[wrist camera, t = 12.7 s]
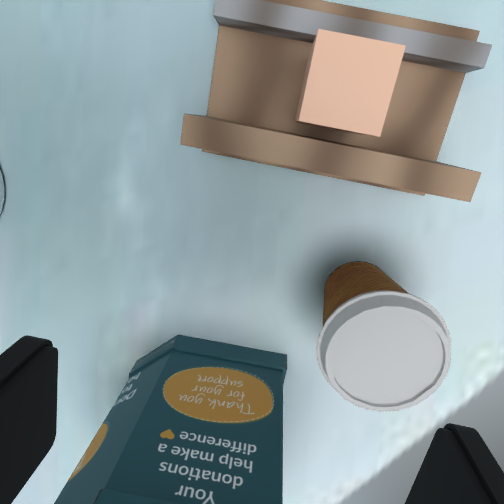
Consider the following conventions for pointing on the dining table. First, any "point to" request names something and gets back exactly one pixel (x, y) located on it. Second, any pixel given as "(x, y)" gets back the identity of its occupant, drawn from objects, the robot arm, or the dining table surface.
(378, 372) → the disposable coffee cup
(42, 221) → the dining table surface
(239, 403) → the donation box
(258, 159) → the cleat board
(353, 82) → the terracotta block
